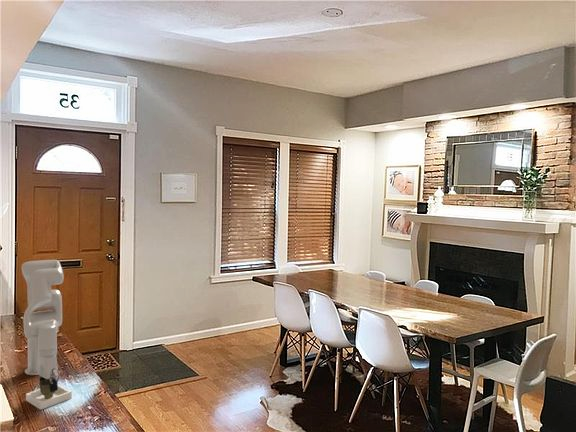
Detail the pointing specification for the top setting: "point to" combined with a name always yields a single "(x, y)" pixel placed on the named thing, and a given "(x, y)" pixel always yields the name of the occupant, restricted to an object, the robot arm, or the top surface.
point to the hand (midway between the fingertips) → (48, 388)
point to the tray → (42, 403)
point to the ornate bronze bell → (46, 388)
